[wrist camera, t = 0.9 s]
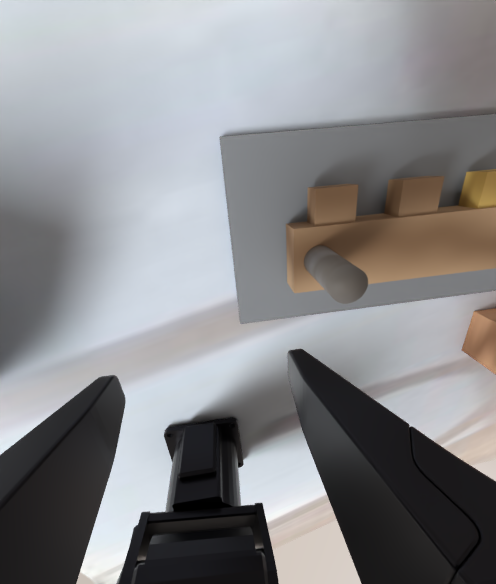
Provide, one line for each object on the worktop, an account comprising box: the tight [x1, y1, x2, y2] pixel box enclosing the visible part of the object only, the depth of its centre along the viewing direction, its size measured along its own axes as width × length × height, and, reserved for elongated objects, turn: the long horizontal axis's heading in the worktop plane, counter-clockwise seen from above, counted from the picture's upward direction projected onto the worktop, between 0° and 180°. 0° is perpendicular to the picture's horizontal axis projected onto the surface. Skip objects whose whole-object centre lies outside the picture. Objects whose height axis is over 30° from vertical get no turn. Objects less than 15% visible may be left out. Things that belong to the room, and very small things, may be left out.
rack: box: [286, 169, 496, 304], centre depth 15 cm, size 6×14×6 cm, turn 95°
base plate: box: [220, 114, 496, 324], centre depth 18 cm, size 12×25×1 cm, turn 95°
